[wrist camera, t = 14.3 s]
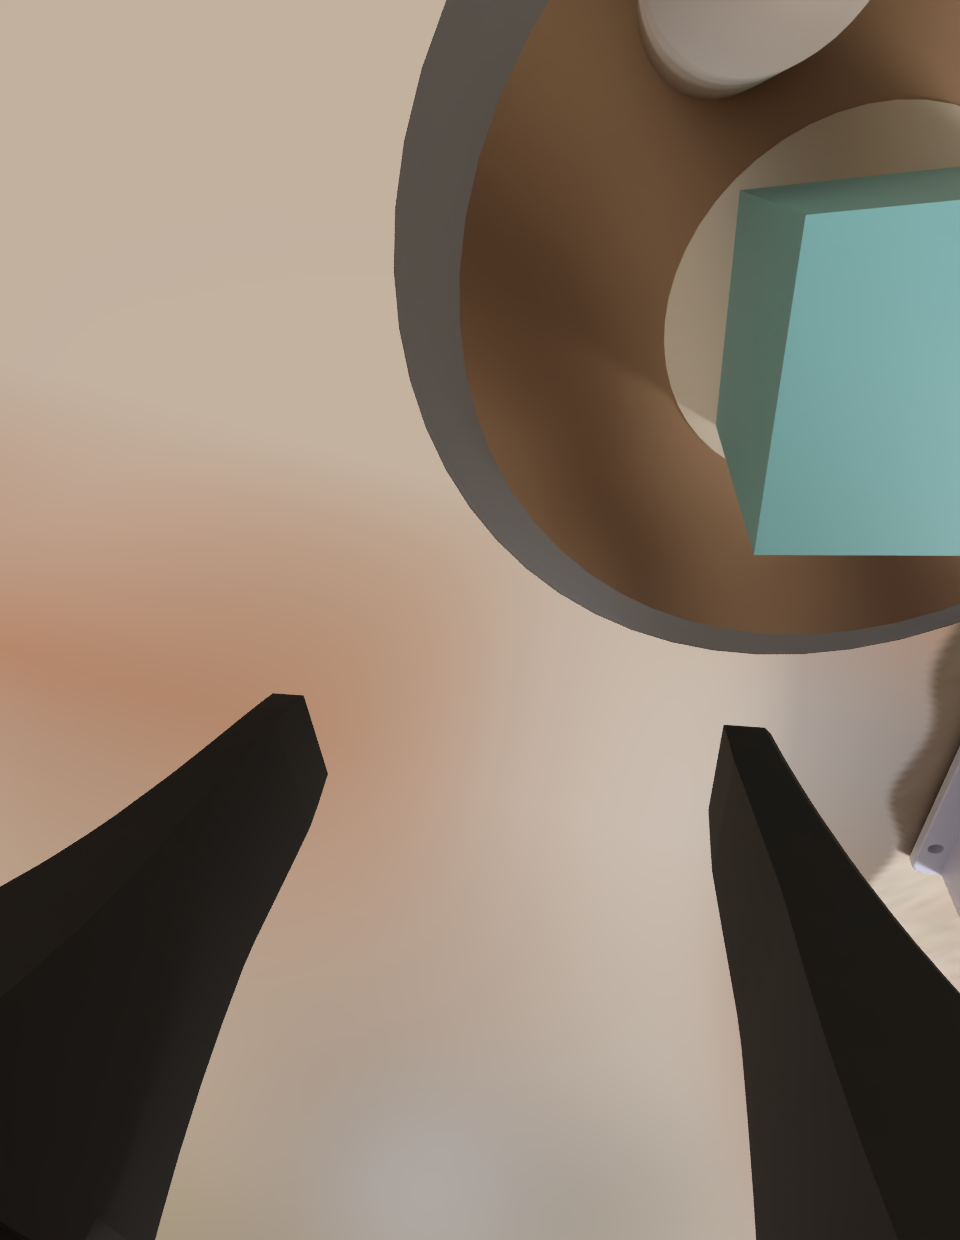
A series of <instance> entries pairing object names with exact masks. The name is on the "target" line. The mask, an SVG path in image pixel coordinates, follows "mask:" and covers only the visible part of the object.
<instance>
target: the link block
mask: <svg viewBox="0 0 960 1240" xmlns="http://www.w3.org/2000/svg"><path fill="white" fill-rule="evenodd" d="M716 428H717V431H718V435H719V438H720V441H721V445H722V448H723V452H724V455H725V458H726V462H727V465H728V469H729V472H730V475H731V479H732V482H733V486H734V489H735V492H736V496H737V499H738V503H739V506H740V509H741V513H742V516H743V520H744V523H745V526H746V530H747V533H748V537H749V540H750V543H751V547H752V550H753V554H754V555H900V556H960V167H950V168H941V169H932V170H923V171H913V172H904V173H895V174H885V175H876V176H867V177H857V178H848V179H839V180H829V181H820V182H811V183H801V184H792V185H783V186H773V187H764V188H755V189H745V190H740V193H739V203H738V212H737V222H736V232H735V242H734V252H733V261H732V271H731V281H730V291H729V300H728V310H727V320H726V330H725V340H724V349H723V359H722V369H721V379H720V388H719V398H718V408H717V418H716Z"/></svg>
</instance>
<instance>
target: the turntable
mask: <svg viewBox="0 0 960 1240" xmlns="http://www.w3.org/2000/svg"><path fill="white" fill-rule="evenodd" d="M950 167H960V0H549V2H548V3H547V5H546V7H545V8H544V10H543V12H542V13H541V15H540V17H539V18H538V20H537V22H536V23H535V25H534V26H533V28H532V30H531V31H530V33H529V36H528V38H527V40H526V42H525V44H524V46H523V48H522V50H521V53H520V55H519V57H518V59H517V61H516V63H515V65H514V68H513V70H512V72H511V74H510V76H509V78H508V80H507V83H506V85H505V87H504V89H503V91H502V93H501V95H500V98H499V101H498V104H497V107H496V110H495V113H494V115H493V118H492V121H491V124H490V127H489V130H488V133H487V136H486V139H485V142H484V145H483V148H482V151H481V153H480V156H479V160H478V164H477V169H476V173H475V178H474V182H473V187H472V191H471V195H470V200H469V204H468V209H467V213H466V218H465V227H464V236H463V246H462V255H461V264H460V273H459V275H460V330H461V338H462V346H463V354H464V362H465V370H466V375H467V379H468V383H469V387H470V391H471V395H472V399H473V403H474V407H475V411H476V415H477V418H478V421H479V423H480V426H481V428H482V431H483V433H484V436H485V438H486V441H487V444H488V446H489V449H490V451H491V454H492V456H493V458H494V460H495V462H496V464H497V465H498V467H499V469H500V471H501V473H502V475H503V476H504V478H505V480H506V482H507V484H508V486H509V487H510V489H511V491H512V492H513V494H514V495H515V496H516V498H517V499H518V501H519V502H520V503H521V505H522V506H523V508H524V509H525V510H526V512H527V513H528V514H529V516H530V517H531V519H532V520H533V521H534V523H535V524H536V525H537V526H538V527H539V528H540V529H541V530H542V531H543V532H544V533H545V534H546V535H547V536H548V537H549V539H550V540H551V541H552V542H553V543H554V544H555V545H556V546H557V547H558V548H559V549H560V550H561V551H562V552H564V553H565V554H566V555H567V556H568V557H570V558H571V559H572V560H573V561H574V562H576V563H577V564H578V565H579V566H580V567H582V568H583V569H584V570H585V571H587V572H588V573H589V574H591V575H592V576H594V577H595V578H597V579H599V580H600V581H602V582H603V583H605V584H606V585H608V586H610V587H611V588H613V589H614V590H616V591H617V592H619V593H621V594H623V595H625V596H627V597H629V598H632V599H634V600H636V601H638V602H640V603H642V604H644V605H646V606H648V607H650V608H652V609H655V610H658V611H661V612H664V613H667V614H670V615H673V616H676V617H679V618H681V619H684V620H687V621H691V622H696V623H700V624H705V625H709V626H714V627H718V628H722V629H728V630H737V631H745V632H754V633H762V634H819V633H831V632H844V631H853V630H858V629H864V628H870V627H876V626H881V625H887V624H893V623H897V622H901V621H905V620H908V619H912V618H916V617H919V616H923V615H927V614H931V613H934V612H938V611H942V610H944V609H947V608H950V607H953V606H955V605H958V604H960V556H900V555H754V554H753V550H752V547H751V543H750V540H749V537H748V533H747V530H746V526H745V523H744V520H743V516H742V513H741V509H740V506H739V503H738V499H737V496H736V492H735V489H734V486H733V482H732V479H731V475H730V472H729V469H728V465H727V462H726V458H725V455H724V452H723V448H722V445H721V441H720V438H719V435H718V431H717V428H716V418H717V408H718V398H719V388H720V379H721V369H722V359H723V349H724V340H725V330H726V320H727V310H728V300H729V291H730V281H731V271H732V261H733V252H734V242H735V232H736V222H737V212H738V203H739V193H740V190H745V189H755V188H764V187H773V186H783V185H792V184H801V183H811V182H820V181H829V180H839V179H848V178H857V177H867V176H876V175H885V174H895V173H904V172H913V171H923V170H932V169H941V168H950Z"/></svg>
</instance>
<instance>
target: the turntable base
mask: <svg viewBox="0 0 960 1240" xmlns="http://www.w3.org/2000/svg"><path fill="white" fill-rule="evenodd" d="M548 2H549V0H446V3H445V6H444V9H443V11H442V14H441V17H440V20H439V22H438V25H437V28H436V31H435V34H434V36H433V39H432V42H431V45H430V47H429V50H428V53H427V56H426V59H425V62H424V64H423V67H422V71H421V74H420V78H419V83H418V87H417V91H416V95H415V99H414V103H413V107H412V111H411V115H410V120H409V124H408V128H407V132H406V136H405V140H404V147H403V155H402V162H401V170H400V177H399V185H398V192H397V200H396V207H395V208H396V209H395V250H394V252H395V253H394V276H395V287H396V298H397V309H398V320H399V329H400V334H401V339H402V343H403V348H404V353H405V358H406V363H407V368H408V372H409V377H410V381H411V384H412V387H413V390H414V393H415V396H416V399H417V402H418V405H419V408H420V411H421V414H422V417H423V420H424V423H425V426H426V429H427V431H428V433H429V435H430V437H431V439H432V441H433V443H434V445H435V448H436V450H437V451H438V454H439V456H440V458H441V460H442V462H443V465H444V467H445V469H446V471H447V472H448V474H449V475H450V477H451V478H452V480H453V481H454V483H455V485H456V486H457V488H458V489H459V491H460V493H461V494H462V496H463V497H464V499H465V500H466V502H467V504H468V505H469V507H470V508H471V509H472V511H473V512H474V513H475V514H476V515H477V517H478V518H479V519H480V520H481V521H482V523H483V524H484V525H485V526H486V528H487V529H488V530H489V531H490V533H492V535H493V536H494V537H495V539H496V540H497V541H498V542H499V543H500V544H501V545H502V546H503V547H504V548H506V549H507V550H508V551H509V552H510V553H511V554H512V555H513V556H514V557H515V558H516V559H517V560H518V561H519V562H520V563H521V564H522V565H523V566H524V567H525V568H526V569H528V570H529V571H530V572H532V573H533V574H535V575H536V576H537V577H538V578H540V579H541V580H543V581H544V582H545V583H547V584H548V585H549V586H550V587H552V588H553V589H554V590H556V591H557V592H559V593H560V594H562V595H564V596H565V597H567V598H569V599H570V600H572V601H574V602H576V603H577V604H579V605H581V606H582V607H584V608H586V609H588V610H589V611H591V612H593V613H595V614H597V615H599V616H601V617H604V618H606V619H608V620H611V621H613V622H615V623H618V624H620V625H622V626H625V627H627V628H629V629H631V630H634V631H638V632H641V633H644V634H647V635H651V636H654V637H657V638H660V639H664V640H667V641H670V642H674V643H679V644H685V645H689V646H695V647H700V648H705V649H710V650H717V651H728V652H739V653H750V654H807V653H817V652H826V651H836V650H847V649H854V648H859V647H864V646H869V645H874V644H879V643H885V642H890V641H895V640H900V639H904V638H907V637H911V636H914V635H918V634H921V633H925V632H928V631H932V630H935V629H939V628H942V627H946V626H949V625H953V624H955V623H958V622H960V604H958V605H955V606H953V607H950V608H947V609H944V610H942V611H938V612H934V613H931V614H927V615H923V616H919V617H916V618H912V619H908V620H905V621H901V622H897V623H893V624H887V625H881V626H876V627H870V628H864V629H858V630H853V631H844V632H831V633H819V634H762V633H754V632H745V631H737V630H728V629H722V628H718V627H714V626H709V625H705V624H700V623H696V622H691V621H687V620H684V619H681V618H679V617H676V616H673V615H670V614H667V613H664V612H661V611H658V610H655V609H652V608H650V607H648V606H646V605H644V604H642V603H640V602H638V601H636V600H634V599H632V598H629V597H627V596H625V595H623V594H621V593H619V592H617V591H616V590H614V589H613V588H611V587H610V586H608V585H606V584H605V583H603V582H602V581H600V580H599V579H597V578H595V577H594V576H592V575H591V574H589V573H588V572H587V571H585V570H584V569H583V568H582V567H580V566H579V565H578V564H577V563H576V562H574V561H573V560H572V559H571V558H570V557H568V556H567V555H566V554H565V553H564V552H562V551H561V550H560V549H559V548H558V547H557V546H556V545H555V544H554V543H553V542H552V541H551V540H550V539H549V537H548V536H547V535H546V534H545V533H544V532H543V531H542V530H541V529H540V528H539V527H538V526H537V525H536V524H535V523H534V521H533V520H532V519H531V517H530V516H529V514H528V513H527V512H526V510H525V509H524V508H523V506H522V505H521V503H520V502H519V501H518V499H517V498H516V496H515V495H514V494H513V492H512V491H511V489H510V487H509V486H508V484H507V482H506V480H505V478H504V476H503V475H502V473H501V471H500V469H499V467H498V465H497V464H496V462H495V460H494V458H493V456H492V454H491V451H490V449H489V446H488V444H487V441H486V438H485V436H484V433H483V431H482V428H481V426H480V423H479V421H478V418H477V415H476V411H475V407H474V403H473V399H472V395H471V391H470V387H469V383H468V379H467V375H466V370H465V362H464V354H463V346H462V338H461V330H460V275H459V273H460V264H461V255H462V246H463V236H464V227H465V218H466V213H467V209H468V204H469V200H470V195H471V191H472V187H473V182H474V178H475V173H476V169H477V164H478V160H479V156H480V153H481V151H482V148H483V145H484V142H485V139H486V136H487V133H488V130H489V127H490V124H491V121H492V118H493V115H494V113H495V110H496V107H497V104H498V101H499V98H500V95H501V93H502V91H503V89H504V87H505V85H506V83H507V80H508V78H509V76H510V74H511V72H512V70H513V68H514V65H515V63H516V61H517V59H518V57H519V55H520V53H521V50H522V48H523V46H524V44H525V42H526V40H527V38H528V36H529V33H530V31H531V30H532V28H533V26H534V25H535V23H536V22H537V20H538V18H539V17H540V15H541V13H542V12H543V10H544V8H545V7H546V5H547V3H548Z"/></svg>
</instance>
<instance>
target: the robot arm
mask: <svg viewBox="0 0 960 1240" xmlns="http://www.w3.org/2000/svg"><path fill="white" fill-rule="evenodd" d="M327 774H328V773H327V770H326V766H325V763H324V760H323V757H322V754H321V750H320V747H319V744H318V741H317V737H316V734H315V731H314V728H313V725H312V722H311V718H310V715H309V712H308V709H307V705H306V702H305V699H304V696H301V695H286V694H272V695H270V696H269V697H267V698H266V699H265V700H264V701H262V702H261V703H260V704H258V705H257V706H256V707H255V708H253V709H252V710H251V711H250V712H248V713H247V714H246V715H244V716H243V717H242V718H241V719H239V720H238V721H237V722H236V723H235V724H233V725H232V726H231V727H230V728H228V729H227V730H226V731H225V732H224V733H222V734H221V735H220V736H219V737H217V738H216V739H215V740H214V741H212V742H211V743H210V744H209V745H207V746H206V747H205V748H204V749H203V750H201V751H200V752H199V753H198V754H196V755H195V756H194V757H193V758H191V759H190V760H189V761H187V762H186V763H185V764H184V765H182V766H181V767H180V768H179V769H177V770H176V771H175V772H173V773H172V774H171V775H170V776H168V777H167V778H166V779H164V780H163V781H161V782H160V783H159V784H157V785H156V786H155V787H154V788H152V789H151V790H149V791H148V792H147V793H145V794H144V795H142V796H141V797H140V798H139V799H137V800H136V801H134V802H133V803H132V804H130V805H129V806H128V807H126V808H125V809H123V810H122V811H121V812H119V813H118V814H117V815H115V816H114V817H112V818H111V819H109V820H108V821H107V822H105V823H104V824H102V825H101V826H99V827H98V828H96V829H95V830H93V831H92V832H90V833H89V834H87V835H86V836H84V837H83V838H81V839H79V840H78V841H76V842H75V843H73V844H72V845H70V846H68V847H67V848H65V849H64V850H62V851H61V852H59V853H57V854H56V855H54V856H53V857H51V858H49V859H48V860H46V861H44V862H43V863H41V864H40V865H38V866H36V867H34V868H32V869H31V870H29V871H27V872H26V873H24V874H22V875H20V876H19V877H17V878H15V879H13V880H11V881H10V882H8V883H6V884H4V885H3V886H1V887H0V1240H155V1238H156V1234H157V1230H158V1226H159V1223H160V1219H161V1216H162V1212H163V1209H164V1205H165V1202H166V1198H167V1195H168V1191H169V1187H170V1184H171V1180H172V1177H173V1173H174V1170H175V1167H176V1163H177V1160H178V1156H179V1153H180V1149H181V1146H182V1143H183V1140H184V1137H185V1134H186V1130H187V1127H188V1124H189V1121H190V1118H191V1115H192V1111H193V1108H194V1105H195V1102H196V1099H197V1096H198V1092H199V1089H200V1086H201V1083H202V1080H203V1077H204V1074H205V1072H206V1068H207V1066H208V1063H209V1060H210V1057H211V1054H212V1051H213V1048H214V1045H215V1043H216V1040H217V1037H218V1034H219V1031H220V1028H221V1025H222V1023H223V1020H224V1017H225V1015H226V1012H227V1009H228V1006H229V1004H230V1001H231V998H232V996H233V993H234V991H235V988H236V985H237V983H238V980H239V977H240V974H241V972H242V969H243V966H244V964H245V962H246V960H247V958H248V955H249V953H250V951H251V948H252V946H253V944H254V942H255V940H256V937H257V935H258V933H259V931H260V929H261V927H262V925H263V923H264V921H265V919H266V917H267V915H268V913H269V911H270V909H271V907H272V905H273V903H274V900H275V899H276V896H277V894H278V892H279V890H280V888H281V886H282V884H283V882H284V880H285V878H286V876H287V874H288V872H289V870H290V868H291V866H292V864H293V862H294V860H295V858H296V855H297V853H298V851H299V849H300V847H301V845H302V842H303V841H304V838H305V836H306V834H307V832H308V830H309V828H310V826H311V823H312V820H313V817H314V814H315V811H316V809H317V806H318V803H319V800H320V797H321V794H322V790H323V787H324V784H325V780H326V778H327ZM709 827H710V845H711V859H712V872H713V878H714V884H715V890H716V896H717V901H718V908H719V913H720V919H721V925H722V931H723V936H724V942H725V948H726V953H727V959H728V965H729V970H730V976H731V982H732V987H733V993H734V998H735V1004H736V1010H737V1015H738V1024H739V1031H740V1038H741V1046H742V1057H743V1069H744V1080H745V1092H746V1104H747V1115H748V1129H749V1142H750V1155H751V1169H752V1182H753V1194H754V1195H753V1196H754V1211H755V1226H756V1240H960V993H959V992H958V991H957V989H956V988H955V987H954V986H953V985H952V984H951V983H950V982H949V981H948V980H947V978H946V977H945V976H944V975H943V974H942V973H941V972H940V970H939V969H938V968H937V967H936V966H935V965H934V963H933V962H932V961H931V960H930V959H929V958H928V957H927V955H926V954H925V953H924V952H923V951H922V950H921V949H920V947H919V946H918V945H917V944H916V943H915V941H914V940H913V939H912V938H911V937H910V935H909V934H908V933H907V932H906V931H905V929H904V928H903V927H902V926H901V924H900V923H899V922H898V921H897V919H896V918H895V917H894V916H893V914H892V913H891V912H890V911H889V910H888V908H887V907H886V906H885V904H884V903H883V902H882V900H881V899H880V898H879V897H878V895H877V894H876V893H875V891H874V890H873V889H872V887H871V886H870V885H869V884H868V882H867V881H866V880H865V878H864V877H863V876H862V875H861V873H860V872H859V870H858V869H857V868H856V866H855V865H854V863H853V862H852V861H851V859H850V858H849V857H848V855H847V854H846V852H845V851H844V849H843V848H842V847H841V845H840V844H839V842H838V841H837V839H836V838H835V836H834V835H833V834H832V832H831V831H830V829H829V828H828V826H827V825H826V824H825V822H824V821H823V819H822V818H821V816H820V815H819V813H818V812H817V810H816V809H815V807H814V805H813V804H812V803H811V801H810V799H809V798H808V796H807V795H806V793H805V791H804V790H803V788H802V787H801V785H800V784H799V782H798V780H797V779H796V777H795V775H794V774H793V772H792V770H791V769H790V767H789V766H788V764H787V762H786V760H785V759H784V757H783V755H782V753H781V751H780V750H779V748H778V746H777V744H776V743H775V741H774V739H773V737H772V735H771V734H770V733H769V732H768V731H767V730H766V729H765V728H759V727H744V726H731V725H724V727H723V732H722V738H721V744H720V749H719V754H718V760H717V766H716V771H715V777H714V782H713V788H712V794H711V799H710V805H709ZM910 862H911V864H912V867H913V868H914V869H915V870H917V871H919V872H923V873H931V874H941V875H942V877H943V880H944V882H945V884H946V887H947V889H948V891H949V894H950V896H951V898H952V901H953V903H954V906H955V908H956V910H957V913H958V915H959V917H960V747H959V749H958V751H957V753H956V756H955V758H954V760H953V762H952V764H951V767H950V769H949V771H948V773H947V775H946V778H945V780H944V782H943V784H942V786H941V789H940V791H939V793H938V795H937V798H936V800H935V802H934V804H933V806H932V809H931V811H930V813H929V815H928V817H927V820H926V822H925V824H924V826H923V828H922V831H921V833H920V835H919V837H918V839H917V842H916V844H915V846H914V848H913V851H912V853H911V855H910Z"/></svg>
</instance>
